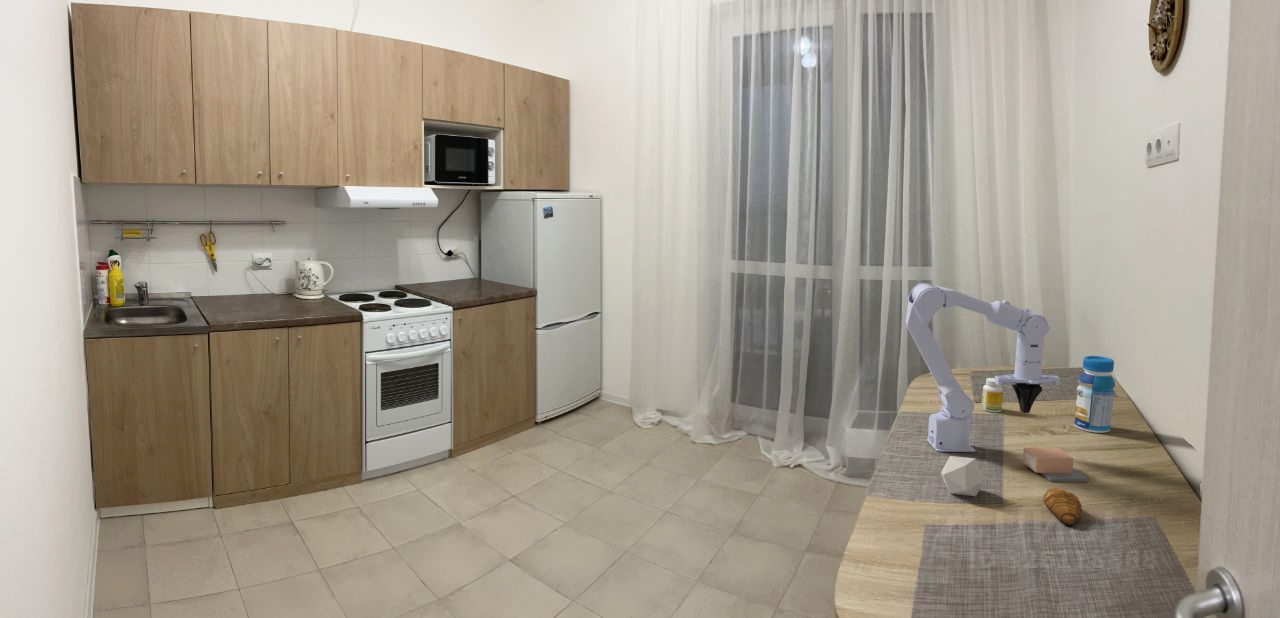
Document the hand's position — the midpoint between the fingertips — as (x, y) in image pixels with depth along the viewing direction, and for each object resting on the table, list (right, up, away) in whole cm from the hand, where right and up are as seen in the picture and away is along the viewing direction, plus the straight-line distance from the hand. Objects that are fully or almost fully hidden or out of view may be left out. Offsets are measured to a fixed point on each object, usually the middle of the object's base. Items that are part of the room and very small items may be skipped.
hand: (1024, 411), depth 156 cm
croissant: (-10, -16, -28) cm, 34 cm away
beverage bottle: (+28, -7, +15) cm, 32 cm away
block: (-5, -10, -10) cm, 15 cm away
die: (-26, -15, -19) cm, 35 cm away
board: (+1, -12, -10) cm, 16 cm away
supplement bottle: (+10, -5, +32) cm, 33 cm away
